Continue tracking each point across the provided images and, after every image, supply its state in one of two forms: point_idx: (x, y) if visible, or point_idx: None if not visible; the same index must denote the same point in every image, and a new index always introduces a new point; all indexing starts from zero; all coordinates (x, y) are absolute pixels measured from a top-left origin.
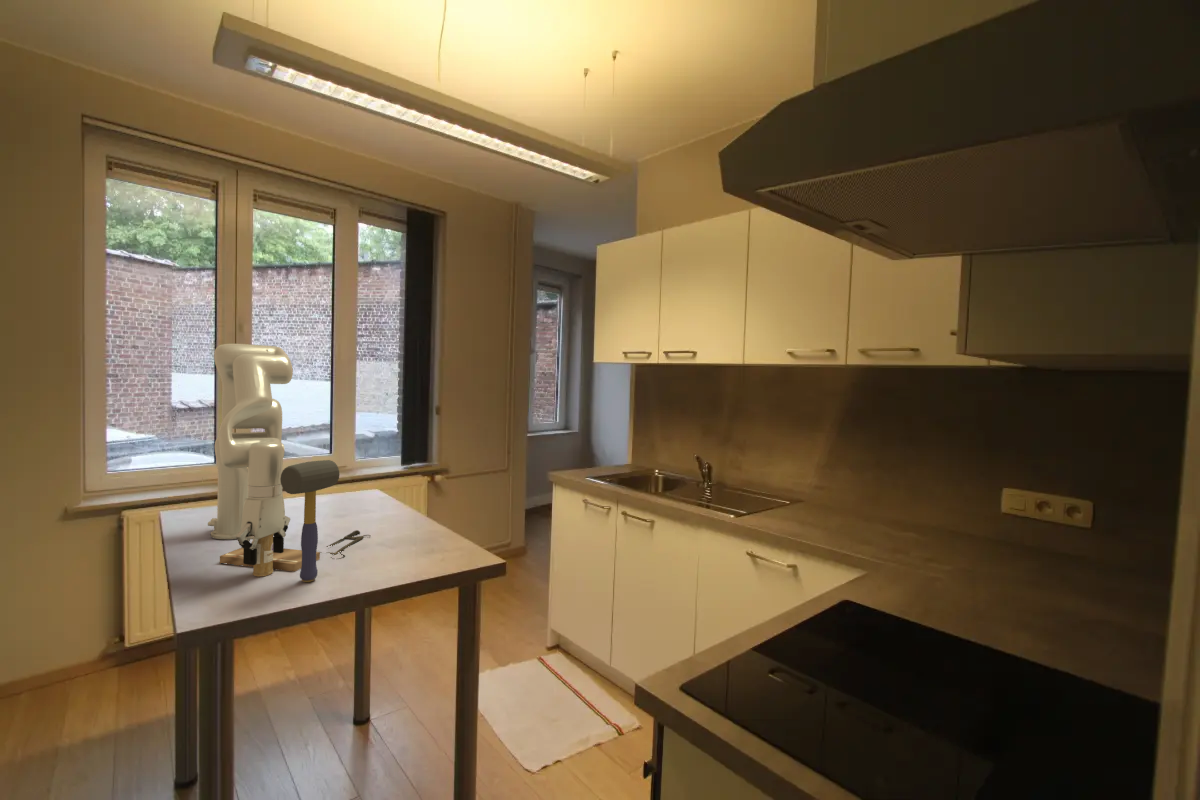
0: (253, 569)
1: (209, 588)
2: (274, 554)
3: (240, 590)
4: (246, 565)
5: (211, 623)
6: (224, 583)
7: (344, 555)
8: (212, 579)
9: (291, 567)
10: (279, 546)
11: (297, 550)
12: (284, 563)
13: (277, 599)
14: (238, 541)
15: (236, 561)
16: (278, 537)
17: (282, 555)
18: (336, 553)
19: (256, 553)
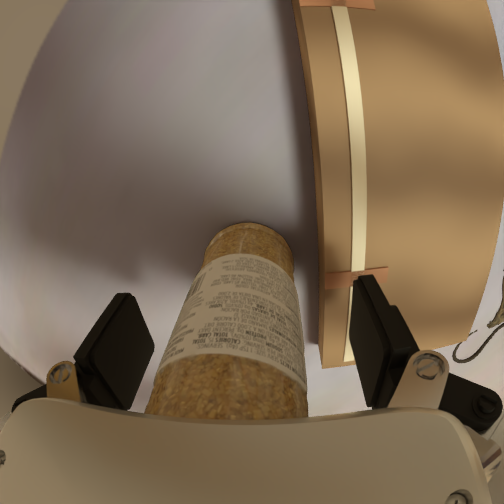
0: (211, 249)
1: (51, 204)
2: (431, 190)
3: (99, 310)
4: (306, 93)
5: (22, 362)
6: (97, 207)
7: (473, 358)
8: (100, 117)
9: (320, 345)
10: (358, 357)
11: (489, 251)
12: (324, 328)
13: (134, 407)
14: (8, 414)
15: (299, 26)
16: (382, 397)
17: (424, 243)
18: (497, 323)
19: (132, 392)
